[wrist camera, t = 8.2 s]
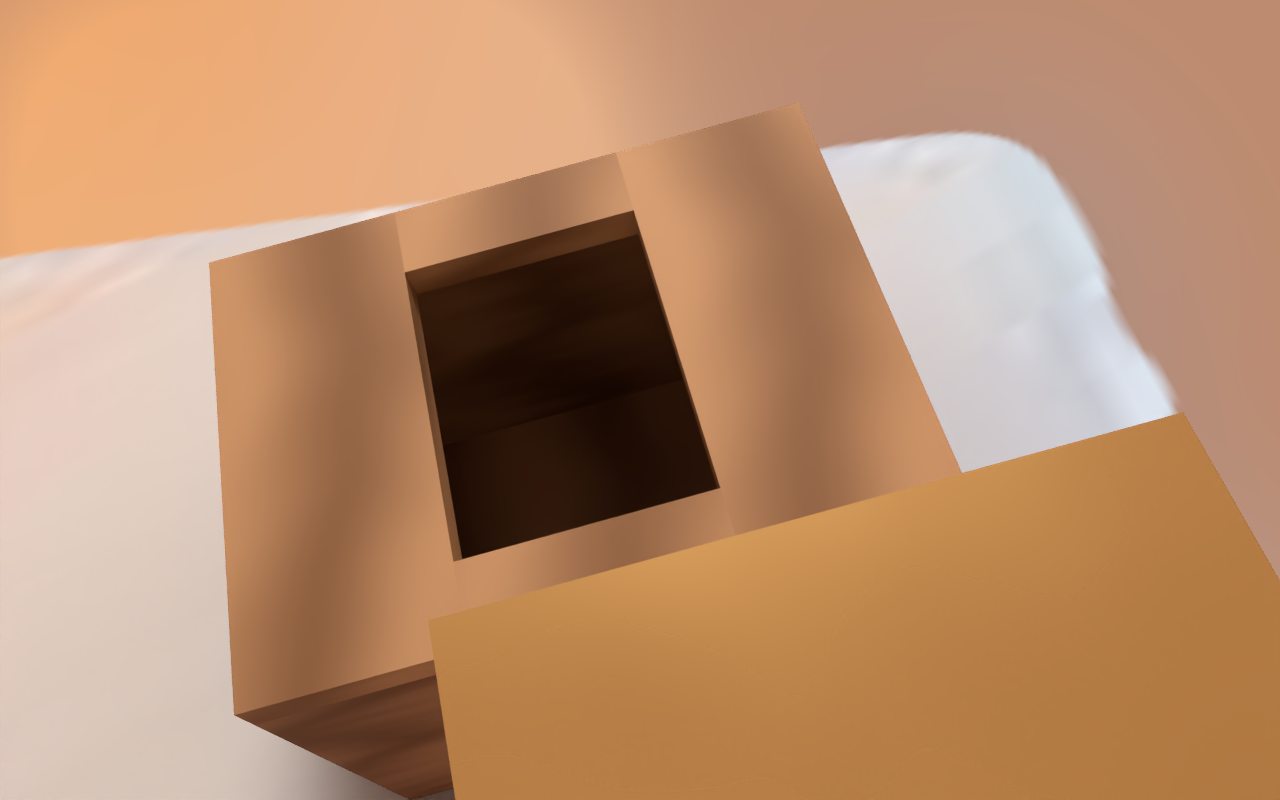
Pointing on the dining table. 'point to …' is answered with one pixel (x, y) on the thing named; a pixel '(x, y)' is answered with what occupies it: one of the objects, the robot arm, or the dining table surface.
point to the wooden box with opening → (536, 411)
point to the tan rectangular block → (901, 650)
